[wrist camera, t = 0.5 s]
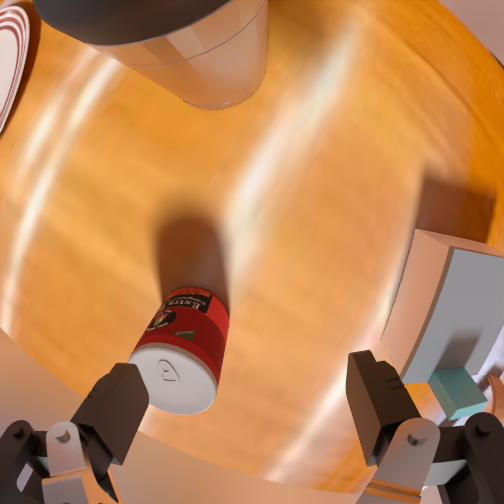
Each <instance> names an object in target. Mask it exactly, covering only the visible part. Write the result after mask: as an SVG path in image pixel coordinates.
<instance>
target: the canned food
mask: <svg viewBox="0 0 504 504" xmlns="http://www.w3.org/2000/svg"><path fill="white" fill-rule="evenodd" d="M228 330H229V318H228V314H227V311H226V309H225V307H224V305H223V303H222V302H221V301H220V300H219V299H218V298H217V297H216V296H215V295H214V294H212V293H211V292H209V291H207V290H205V289H202V288H198V287H184V288H181V289H178V290H176V291H174V292H173V293H171V294H170V295H169V296H168V297H167V298H166V299H165V301H164V302H163V304H162V305H161V307H160V308H159V310H158V311H157V313H156V315H155V316H154V318H153V319H152V321H151V322H150V324H149V326H148V327H147V329H146V330H145V332H144V334H143V335H142V337H141V338H140V340H139V342H138V343H137V345H136V347H135V349H134V350H133V352H132V354H131V356H130V358H129V361H128V363H132V364H136V365H137V367H138V369H139V371H140V374H141V376H142V379H143V381H144V384H145V386H146V388H147V391H148V394H149V404H151V405H153V406H154V407H156V408H158V409H160V410H163V411H166V412H169V413H173V414H179V415H192V414H197V413H200V412H203V411H205V410H206V409H208V408H209V407H210V406H211V405H212V403H213V401H214V399H215V396H216V394H217V388H218V384H219V379H220V373H221V368H222V363H223V357H224V352H225V346H226V341H227V336H228Z"/></svg>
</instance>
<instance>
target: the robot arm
mask: <svg viewBox="0 0 504 504" xmlns="http://www.w3.org/2000/svg"><path fill="white" fill-rule="evenodd" d="M32 1H33V5H34V8H35V10H36V12H37V14H38V15H39V17H40V18H41V19H42V20H43V21H44V22H45V23H47V24H48V25H50V26H51V27H53V28H55V29H57V30H59V31H61V32H63V33H65V34H67V35H69V36H71V37H73V38H75V39H77V40H79V41H81V42H83V43H85V44H87V45H89V46H91V47H93V48H95V49H97V50H99V51H100V52H102V53H104V54H106V55H108V56H110V57H112V58H113V59H116V60H117V61H119V62H121V63H123V64H125V65H126V66H128V67H130V68H132V69H133V70H135V71H137V72H138V73H140V74H142V75H143V76H145V77H147V78H148V79H150V80H152V81H153V82H155V83H157V84H158V85H160V86H162V87H163V88H165V89H166V90H168V91H169V92H171V93H173V94H174V95H176V96H177V97H179V98H181V99H182V100H183V101H184V102H186V103H188V104H190V105H192V106H195V107H198V108H201V109H208V110H217V109H224V108H229V107H232V106H235V105H237V104H239V103H241V102H243V101H244V100H246V99H247V98H249V97H250V96H251V95H252V94H253V93H254V92H255V91H256V90H257V89H258V87H259V86H260V84H261V83H262V81H263V78H264V75H265V73H266V64H267V40H268V0H32ZM346 395H347V400H348V403H349V406H350V409H351V413H352V416H353V419H354V423H355V426H356V429H357V433H358V436H359V440H360V443H361V446H362V450H363V454H364V457H365V461H366V464H367V467H368V466H372V465H376V464H377V467H378V469H377V471H376V473H375V474H374V476H373V478H372V480H371V481H370V483H369V484H368V485H367V486H366V488H365V490H364V491H363V493H362V494H361V496H360V498H359V499H358V501H357V503H356V504H419V503H420V501H421V496H420V493H421V490H422V488H423V486H432V485H437V487H438V490H439V493H440V497H441V500H442V504H504V428H503V426H502V424H501V422H500V421H499V419H498V418H497V417H496V416H494V415H493V414H490V413H486V412H480V413H476V414H474V415H472V416H471V417H469V419H468V420H467V421H466V423H465V425H463V426H454V427H438V426H437V425H436V424H435V423H434V422H432V421H431V420H428V419H425V418H422V417H421V415H420V414H419V412H418V410H417V408H416V406H415V404H414V402H413V400H412V399H411V397H410V395H409V393H408V391H407V389H406V388H405V387H404V384H403V382H402V380H401V379H400V377H399V375H398V373H397V372H396V370H395V368H394V367H393V366H391V365H390V364H388V363H387V362H386V361H379V362H376V360H375V358H374V356H373V354H372V352H371V351H370V350H365V351H359V352H353V353H349V356H348V366H347V377H346ZM148 405H149V394H148V391H147V388H146V386H145V384H144V381H143V379H142V376H141V374H140V371H139V369H138V367H137V365H136V364H132V363H116V364H115V365H114V367H113V368H112V370H111V371H110V373H109V374H106V375H105V376H103V377H102V378H101V379H99V380H98V381H97V382H96V384H95V385H94V387H93V388H92V391H90V392H89V394H88V395H87V398H85V400H84V401H83V403H82V404H81V406H80V407H79V409H78V410H77V412H76V413H75V414H74V416H73V417H72V419H71V420H70V422H68V421H62V422H58V423H56V424H54V425H53V426H52V427H51V428H50V429H49V430H48V431H34V429H33V428H32V427H31V425H30V424H29V423H28V422H27V421H24V420H19V421H16V422H13V423H12V424H11V425H10V426H9V427H8V428H7V429H6V431H5V432H4V434H3V435H2V436H1V438H0V504H124V503H123V501H122V499H121V496H120V494H119V491H118V489H117V486H116V484H115V481H114V478H113V476H112V473H111V471H110V469H109V466H110V463H113V464H117V465H122V464H123V462H124V460H125V457H126V455H127V452H128V450H129V448H130V446H131V443H132V441H133V439H134V437H135V434H136V432H137V430H138V428H139V425H140V423H141V421H142V419H143V416H144V414H145V412H146V410H147V407H148ZM26 463H27V464H28V465H29V466H30V467H31V468H32V469H33V472H32V474H31V476H30V478H29V480H28V482H27V484H26V485H25V487H24V489H23V491H22V492H20V491H19V489H18V488H17V483H16V482H17V479H18V477H19V475H20V473H21V471H22V469H23V468H24V466H25V464H26Z"/></svg>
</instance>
